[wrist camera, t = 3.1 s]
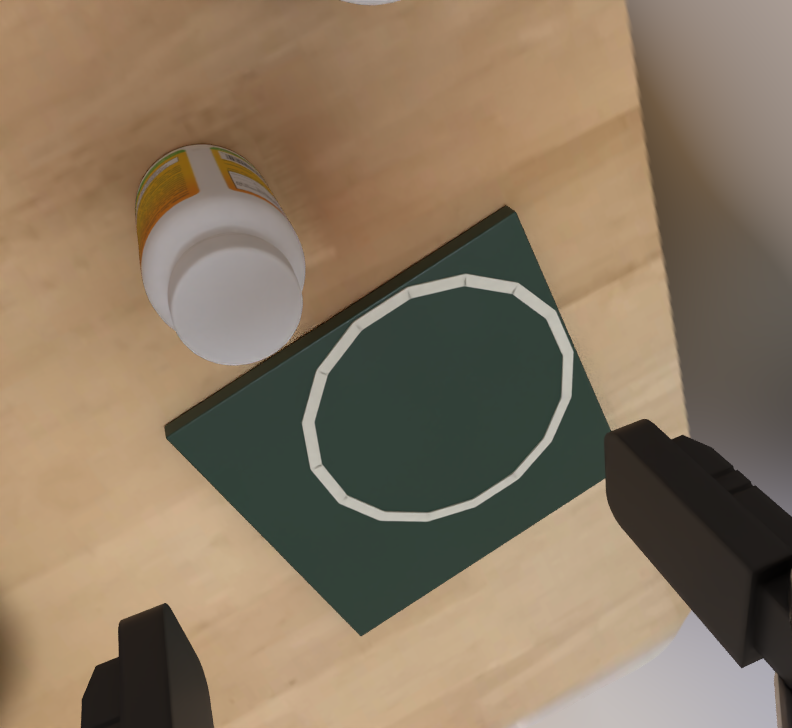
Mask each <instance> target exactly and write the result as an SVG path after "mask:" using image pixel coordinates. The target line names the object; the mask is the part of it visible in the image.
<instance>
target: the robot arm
mask: <svg viewBox="0 0 792 728" xmlns="http://www.w3.org/2000/svg"><path fill="white" fill-rule="evenodd" d="M604 456H605V479H606V495H607V500H608V504H609V506H610V509H611V511H612V513H613V515H614V517H615V519H616V521H617V522H618V524H619V525H620V526H621V528H622V529H623V530H624V531H625V532H626V533H627V535H628V536H629V537H630V538H631V539H632V540H633V542H634V543H635V544H636V545H637V546H638V547H639V549H640V550H641V551H642V552H643V553H644V555H645V556H646V557H647V558H648V559H649V560H650V562H651V563H652V564H653V565H654V566H655V567H656V569H657V570H658V571H659V572H660V573H661V574H662V576H663V577H664V578H665V579H666V580H667V581H668V583H669V584H670V585H671V586H672V587H673V588H674V590H675V591H676V592H677V593H678V594H679V596H680V597H681V598H682V599H683V600H684V601H685V603H686V604H687V605H688V606H689V607H690V608H691V610H692V611H693V612H694V613H695V614H696V615H697V617H698V618H699V619H700V620H701V621H702V622H703V624H704V625H705V626H706V627H707V628H708V630H709V631H710V632H711V633H712V634H713V635H714V637H715V638H716V639H717V640H718V641H719V642H720V644H721V645H722V646H723V647H724V648H725V649H726V651H727V652H728V653H729V654H730V655H731V656H732V658H733V659H734V660H735V661H736V662H737V664H738V665H739V666H740V667H741V668H743V667H745V666H747V665H749V664H752V663H754V662H756V661H758V660H760V659H762V658H764V660H766V662H767V663H768V664H769V665H770V666H771V667H772V668H773V670H774V671H775V676H774V686H775V699H776V712H777V726H778V728H792V517H791V516H790V515H789V514H788V513H787V512H785V511H784V510H783V509H782V508H781V507H780V506H778V505H777V504H776V503H775V502H774V501H773V500H771V499H770V498H769V497H768V496H767V495H766V494H764V493H763V492H762V491H761V490H760V489H759V488H758V487H757V486H753V485H752V484H751V481H750V480H748V479H747V478H746V477H745V476H744V475H743V474H742V473H740V472H739V471H738V470H736V471H735V470H734V468H733V466H732V465H731V464H730V463H729V462H728V461H726V460H725V459H724V458H723V457H722V456H721V455H720V454H719V453H717V452H716V451H715V450H714V449H713V448H711V447H709V446H707V445H705V444H702V443H700V442H698V441H695V440H693V439H691V438H689V437H686V436H684V435H681V436H679V437H676V438H674V439H670V438H669V437H668V436H667V435H666V434H665V433H664V432H662V431H661V430H660V429H659V428H658V427H657V426H656V425H655V424H654V423H652V422H651V421H649V420H647V419H642V420H639V421H637V422H634V423H632V424H629V425H626V426H624V427H621V428H619V429H616V430H614V431H611V432H608V433H607V434H606V435H605V437H604ZM118 641H119V657H117V658H115V659H112V660H110V661H107V662H105V663H102V664H100V665H97V666H96V667H95V669H94V672H93V674H92V676H91V679H90V681H89V684H88V686H87V688H86V691H85V693H84V695H83V698H82V713H81V728H214V725H213V718H212V710H211V703H210V696H209V690H208V686H207V682H206V678H205V675H204V671H203V669H202V666H201V663H200V661H199V659H198V657H197V655H196V653H195V651H194V649H193V648H192V646H191V644H190V642H189V640H188V639H187V637H186V635H185V633H184V631H183V630H182V628H181V626H180V624H179V622H178V621H177V619H176V617H175V615H174V613H173V612H172V610H171V608H170V607H169V605H168V604H166V603H164V604H162V605H159V606H156V607H154V608H151V609H149V610H146V611H143V612H141V613H138V614H136V615H133V616H131V617H128V618H125V619H123V620H121V621H120V622H119V627H118Z"/></svg>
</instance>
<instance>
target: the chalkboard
mask: <svg viewBox="0 0 792 728" xmlns="http://www.w3.org/2000/svg"><path fill="white" fill-rule="evenodd" d="M608 432H611V430H610V427H609V425H608V423H607V420H606V418H605V416H604V414H603V411H602V409H601V407H600V404H599V402H598V400H597V397H596V395H595V393H594V391H593V388H592V386H591V384H590V381H589V379H588V377H587V374H586V372H585V370H584V368H583V365H582V363H581V361H580V358H579V356H578V354H577V351H576V349H575V347H574V344H573V342H572V340H571V338H570V335H569V333H568V331H567V328H566V326H565V324H564V321H563V319H562V317H561V315H560V312H559V310H558V308H557V305H556V303H555V301H554V298H553V296H552V294H551V292H550V289H549V287H548V285H547V282H546V280H545V278H544V275H543V273H542V271H541V269H540V266H539V264H538V262H537V259H536V257H535V255H534V252H533V250H532V248H531V245H530V243H529V241H528V239H527V236H526V234H525V232H524V229H523V227H522V225H521V222H520V220H519V218H518V216H517V213H516V212H515V211H514V210H512V209H511V208H510V207H508V206H505V207H503V208H502V209H500V210H499V211H497V212H496V213H494V214H493V215H491V216H489V217H488V218H486V219H485V220H483V221H482V222H480V223H479V224H477V225H476V226H474V227H472V228H471V229H469V230H468V231H466V232H465V233H463V234H462V235H460V236H459V237H457V238H455V239H454V240H452V241H451V242H449V243H448V244H446V245H445V246H443V247H442V248H440V249H438V250H437V251H435V252H434V253H432V254H431V255H429V256H428V257H426V258H424V259H423V260H421V261H420V262H418V263H417V264H415V265H414V266H412V267H411V268H409V269H407V270H406V271H404V272H403V273H401V274H400V275H398V276H397V277H395V278H394V279H392V280H390V281H389V282H387V283H386V284H384V285H383V286H381V287H380V288H378V289H377V290H375V291H373V292H372V293H370V294H369V295H367V296H366V297H364V298H363V299H361V300H360V301H358V302H356V303H355V304H353V305H352V306H350V307H349V308H347V309H346V310H344V311H342V312H341V313H339V314H338V315H336V316H335V317H333V318H332V319H330V320H329V321H327V322H325V323H324V324H322V325H321V326H319V327H318V328H316V329H315V330H313V331H312V332H310V333H308V334H307V335H305V336H304V337H302V338H301V339H299V340H298V341H296V342H295V343H293V344H291V345H290V346H288V347H287V348H285V349H284V350H282V351H281V352H279V353H277V354H276V355H274V356H273V357H271V358H270V359H268V360H267V361H265V362H264V363H262V364H260V365H259V366H257V367H256V368H254V369H253V370H251V371H250V372H248V373H247V374H245V375H243V376H242V377H240V378H239V379H237V380H236V381H234V382H233V383H231V384H230V385H228V386H226V387H225V388H223V389H222V390H220V391H219V392H217V393H216V394H214V395H213V396H211V397H209V398H208V399H206V400H205V401H203V402H202V403H200V404H199V405H197V406H195V407H194V408H192V409H191V410H189V411H188V412H186V413H185V414H183V415H182V416H180V417H178V418H177V419H175V420H174V421H172V422H171V423H169V424H168V425H166V426H165V434H166V439H167V440H168V441H169V442H170V443H171V444H172V445H173V446H174V447H175V448H176V449H177V450H178V451H179V452H180V453H181V454H182V455H183V456H184V457H185V458H186V459H187V460H188V461H189V462H190V463H191V464H192V465H193V466H194V467H195V468H196V469H197V470H198V471H199V472H200V473H201V474H202V475H203V476H204V477H205V478H206V479H207V480H208V481H209V482H210V483H211V484H212V485H213V486H214V487H215V488H216V489H217V490H218V492H219V493H220V494H221V495H222V496H223V497H224V498H225V499H226V500H227V501H228V502H229V503H230V504H231V505H232V506H233V507H234V508H235V509H236V510H237V511H238V512H239V513H240V514H241V515H242V516H243V517H244V518H245V519H246V520H247V521H248V522H249V523H250V524H251V525H252V526H253V527H254V528H255V529H256V530H257V531H258V532H259V533H260V534H261V535H262V536H263V537H264V538H265V539H266V540H267V541H268V542H269V543H270V544H271V545H272V546H273V547H274V548H275V549H276V551H277V552H278V553H279V554H280V555H281V556H282V557H283V558H284V559H285V560H286V561H287V562H288V563H289V564H290V565H291V566H292V567H293V568H294V569H295V570H296V571H297V572H298V573H299V574H300V575H301V576H302V577H303V578H304V579H305V580H306V581H307V582H308V583H309V584H310V585H311V586H312V587H313V588H314V589H315V590H316V591H317V592H318V593H319V594H320V595H321V596H322V597H323V598H324V599H325V600H326V601H327V602H328V603H329V604H330V605H331V606H332V607H333V609H334V610H335V611H336V612H337V613H338V614H339V615H340V616H341V617H342V618H343V619H344V620H345V621H346V622H347V623H348V624H349V625H350V626H351V627H352V628H353V629H354V630H355V631H356V632H357V633H358V634H359V635H360V636H363V635H364V634H366V633H367V632H369V631H370V630H372V629H373V628H375V627H376V626H378V625H380V624H381V623H383V622H384V621H386V620H387V619H389V618H390V617H392V616H393V615H395V614H396V613H398V612H400V611H401V610H403V609H404V608H406V607H407V606H409V605H410V604H412V603H413V602H415V601H417V600H418V599H420V598H421V597H423V596H424V595H426V594H427V593H429V592H430V591H432V590H434V589H435V588H437V587H438V586H440V585H441V584H443V583H444V582H446V581H447V580H449V579H450V578H452V577H454V576H455V575H457V574H458V573H460V572H461V571H463V570H464V569H466V568H467V567H469V566H471V565H472V564H474V563H475V562H477V561H478V560H480V559H481V558H483V557H484V556H486V555H488V554H489V553H491V552H492V551H494V550H495V549H497V548H498V547H500V546H501V545H503V544H504V543H506V542H508V541H509V540H511V539H512V538H514V537H515V536H517V535H518V534H520V533H521V532H523V531H525V530H526V529H528V528H529V527H531V526H532V525H534V524H535V523H537V522H538V521H540V520H542V519H543V518H545V517H546V516H548V515H549V514H551V513H552V512H554V511H555V510H557V509H558V508H560V507H562V506H563V505H565V504H566V503H568V502H569V501H571V500H572V499H574V498H575V497H577V496H579V495H580V494H582V493H583V492H585V491H586V490H588V489H589V488H591V487H592V486H594V485H595V484H597V483H599V482H600V481H602V480H603V479H605V456H604V437H605V435H606V434H607V433H608Z"/></svg>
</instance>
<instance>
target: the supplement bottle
mask: <svg viewBox="0 0 792 728" xmlns="http://www.w3.org/2000/svg"><path fill="white" fill-rule="evenodd" d="M135 216H136V227H137V235H138V244H139V258H140V266H141V274H142V279H143V284H144V287H145V291H146V294H147V296H148V298H149V301H150V303H151V304H152V306H153V308H154V309H155V311H156V312H157V313H158V315H159V316H160V317H161V318H162V320H163V321H164V322H165V323H166V324H167V325H168V326H170V327H171V328H172V329H174V330H175V331H176V333H177V334H178V336H179V338H180V339H181V340H182V342H183V343H184V344H185V345H186V346H187V347H188V348H189V349H190V350H191V351H192V352H194V353H195V354H197V355H198V356H200V357H201V358H204V359H206V360H208V361H211V362H214V363H218V364H224V365H245V364H250V363H254V362H257V361H260V360H262V359H264V358H267V357H268V356H270V355H272V354H274V353H275V352H277V351H278V350H279V349H280V348H282V347H283V346H284V345H285V344H286V343H287V342H288V340H289V339H290V338H291V337H292V335H293V334H294V332H295V330H296V328H297V326H298V324H299V322H300V318H301V314H302V307H303V298H302V290H303V286H304V281H305V258H304V253H303V249H302V246H301V243H300V241H299V238H298V236H297V234H296V232H295V230H294V228H293V227H292V225H291V223H290V222H289V220H288V218H287V217H286V215H285V214H284V212H283V210H282V209H281V207H280V205H279V204H278V202H277V200H276V199H275V197H274V195H273V194H272V192H271V190H270V189H269V187H268V186H267V184H266V182H265V181H264V179H263V178H262V176H261V175H260V174H259V172H258V171H257V170H256V169H255V168H254V167H253V165H252V164H250V163H249V162H248V161H247V160H246V159H245V158H243V157H242V156H240V155H238V154H237V153H235V152H233V151H231V150H228V149H225V148H222V147H219V146H214V145H190V146H185V147H182V148H179V149H176V150H174V151H172V152H170V153H168V154H166V155H165V156H163V157H162V158H160V159H159V160H158V161H157V162H156V163H155V164H154V165H153V166H152V167H151V168H150V169H149V170H148V171H147V173H146V174H145V176H144V177H143V179H142V181H141V183H140V186H139V189H138V192H137V197H136V205H135Z"/></svg>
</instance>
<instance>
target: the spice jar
mask: <svg viewBox="0 0 792 728" xmlns="http://www.w3.org/2000/svg"><path fill="white" fill-rule="evenodd" d="M341 1H345V2H348V3H353V4H359V5H381V4H388V3H393V2H396V1H399V0H341Z"/></svg>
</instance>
